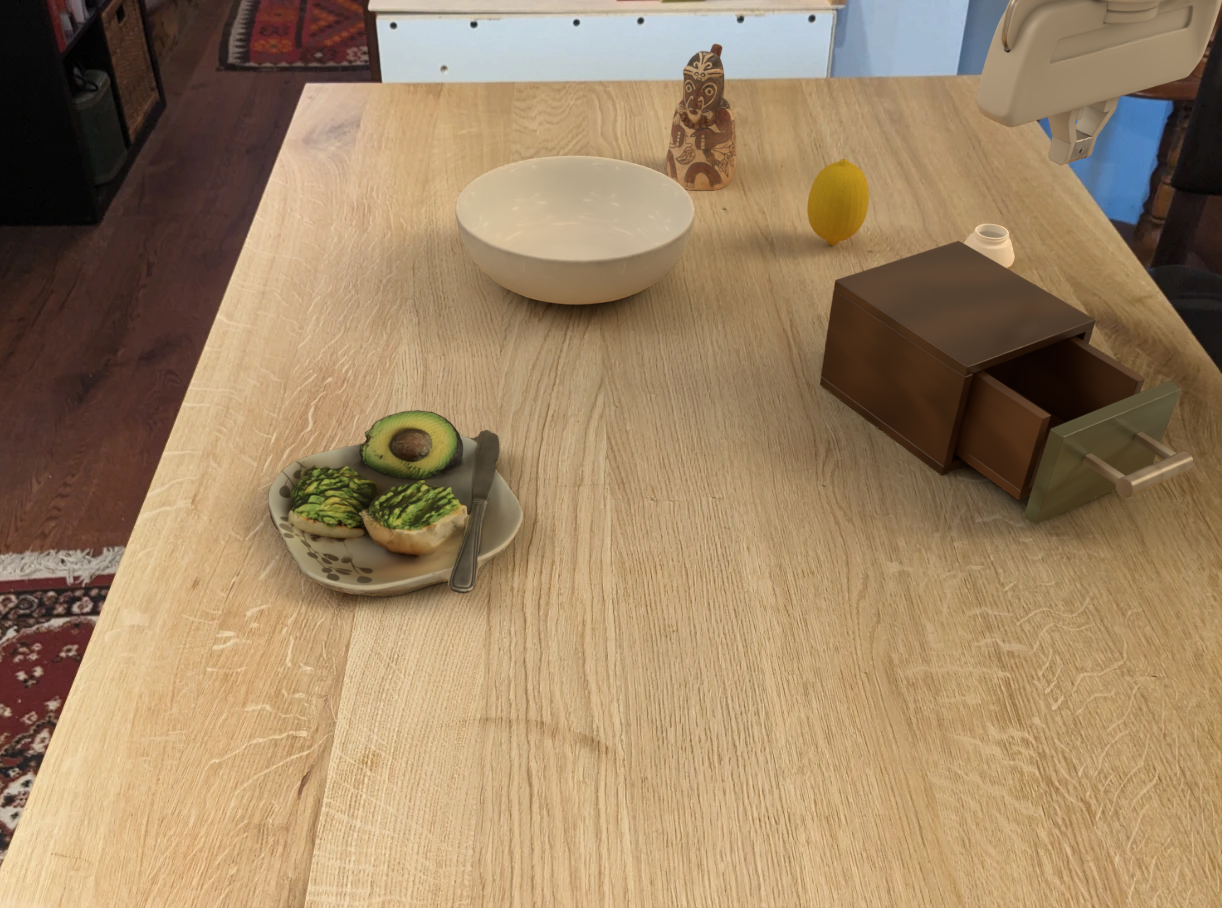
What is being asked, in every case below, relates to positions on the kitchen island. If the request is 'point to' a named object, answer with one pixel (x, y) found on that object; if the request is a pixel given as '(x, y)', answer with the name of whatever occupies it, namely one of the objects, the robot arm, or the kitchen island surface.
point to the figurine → (703, 127)
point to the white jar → (992, 243)
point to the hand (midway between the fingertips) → (1068, 159)
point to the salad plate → (397, 508)
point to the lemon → (838, 201)
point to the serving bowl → (575, 227)
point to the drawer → (1068, 428)
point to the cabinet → (933, 341)
